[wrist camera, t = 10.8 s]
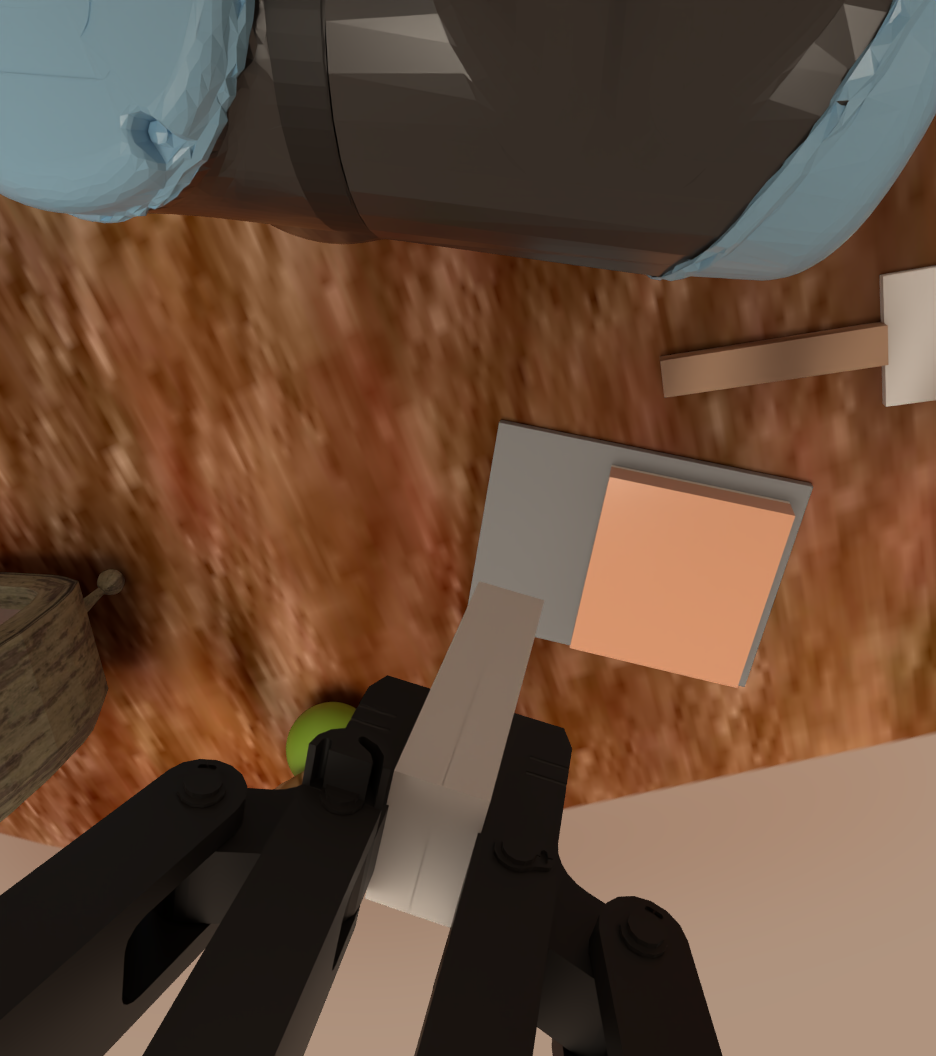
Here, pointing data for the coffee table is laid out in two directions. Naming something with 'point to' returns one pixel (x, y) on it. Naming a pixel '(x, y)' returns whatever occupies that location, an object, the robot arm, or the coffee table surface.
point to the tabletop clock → (46, 677)
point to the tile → (679, 574)
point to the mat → (584, 515)
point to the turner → (832, 349)
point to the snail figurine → (312, 734)
